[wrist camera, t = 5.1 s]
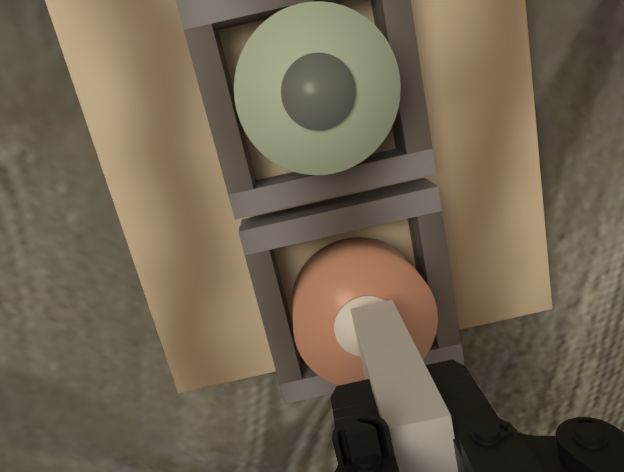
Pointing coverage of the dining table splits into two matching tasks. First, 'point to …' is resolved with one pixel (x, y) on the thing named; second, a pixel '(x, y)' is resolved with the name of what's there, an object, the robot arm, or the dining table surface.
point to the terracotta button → (355, 303)
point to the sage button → (317, 88)
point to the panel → (309, 188)
